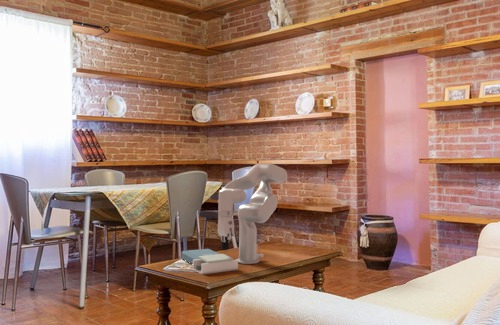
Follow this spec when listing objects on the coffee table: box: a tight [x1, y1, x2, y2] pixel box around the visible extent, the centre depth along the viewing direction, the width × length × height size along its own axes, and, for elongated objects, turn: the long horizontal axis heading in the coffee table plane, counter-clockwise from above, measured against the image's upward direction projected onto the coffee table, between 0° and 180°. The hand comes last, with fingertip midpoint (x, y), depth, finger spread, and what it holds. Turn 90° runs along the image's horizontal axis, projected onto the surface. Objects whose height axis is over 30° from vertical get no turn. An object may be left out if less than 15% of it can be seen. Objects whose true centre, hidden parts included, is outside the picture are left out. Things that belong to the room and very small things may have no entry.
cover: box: [199, 253, 234, 263], centre depth 241 cm, size 14×11×1 cm
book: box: [180, 248, 220, 265], centre depth 259 cm, size 23×16×5 cm
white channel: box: [192, 259, 239, 275], centre depth 241 cm, size 20×11×5 cm, turn 122°
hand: (225, 249), depth 244 cm, fingers closed
